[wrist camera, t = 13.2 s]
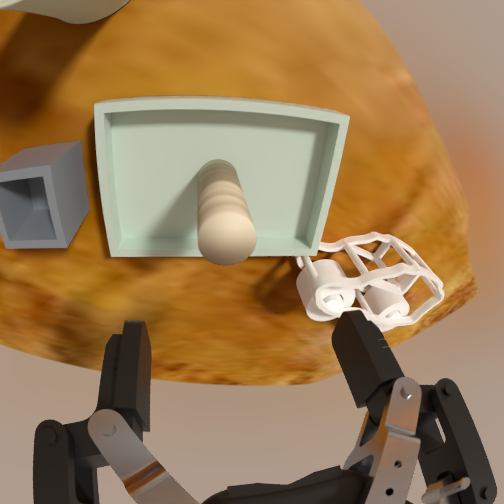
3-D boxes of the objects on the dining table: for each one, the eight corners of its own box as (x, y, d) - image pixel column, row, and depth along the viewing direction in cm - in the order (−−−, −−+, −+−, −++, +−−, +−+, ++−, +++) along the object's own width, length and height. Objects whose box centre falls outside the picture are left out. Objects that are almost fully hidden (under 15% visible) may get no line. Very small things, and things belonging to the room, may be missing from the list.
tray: (105, 99, 19) (94, 104, 17) (335, 110, 23) (350, 116, 21) (117, 239, 27) (111, 256, 25) (307, 239, 31) (316, 255, 29)
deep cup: (22, 149, 20) (-15, 175, 14) (81, 140, 21) (50, 164, 16) (34, 212, 24) (6, 248, 18) (90, 209, 25) (67, 247, 20)
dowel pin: (198, 159, 23) (197, 215, 15) (238, 160, 24) (260, 216, 16) (197, 195, 25) (197, 265, 17) (235, 195, 26) (253, 265, 18)
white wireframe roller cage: (272, 277, 34) (287, 326, 28) (323, 199, 29) (355, 238, 23) (380, 307, 42) (401, 343, 36) (425, 253, 36) (453, 287, 31)
